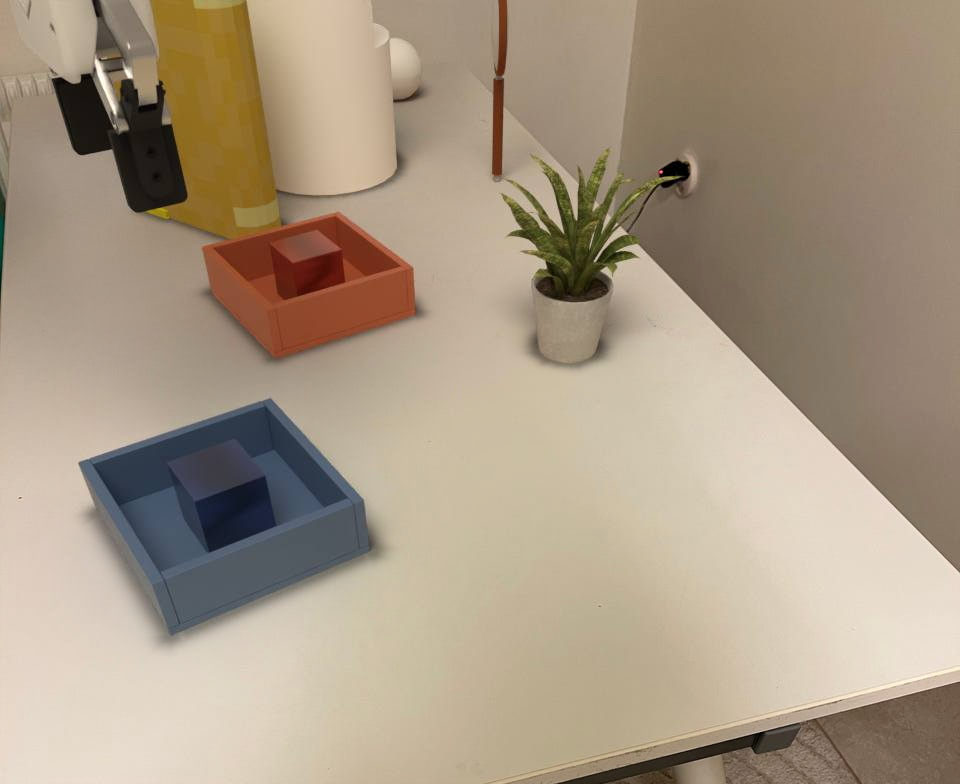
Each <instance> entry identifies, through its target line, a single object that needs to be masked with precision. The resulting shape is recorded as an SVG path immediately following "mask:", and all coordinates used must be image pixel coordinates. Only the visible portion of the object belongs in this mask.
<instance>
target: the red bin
mask: <svg viewBox="0 0 960 784" xmlns="http://www.w3.org/2000/svg"><path fill="white" fill-rule="evenodd" d="M315 230H318V231H319V232H320V233H322V234H323V235H324V236H325V237H327V238H328V239H329V240H330V241H332V242H333V243H334V244H335V245H337V246H338V247H339V248H340V249H342V257H343V266H344V275H345V283H343V284H339V285H336V286H332V287H329V288H325V289H322V290H319V291H315V292H312V293H308V294H305V295H301V296H298V297H295V298H291V299H288V300H284V299H283V298H282V297H281V296H280V295H279V294H278V292H277V286H276V280H275V274H274V269H273V263H272V257H271V251H270V245H269V243H270V242H273V241H277V240H281V239H285V238H289V237H292V236H296V235H300V234H304V233H308V232H311V231H315ZM201 251H202V255H203V258H204V263H205V268H206V273H207V277H208V282H209V286H210V290H211V294H212V295H213V296H214V297H215V298H216V299H217V301H219V303H221V304H222V305H223V306H224V307H225V308H226V309H227V311H229V313H230V314H231V315H232V316H233V317H234V318H235V319H236V320H237V321H238V322H239V323H240V324H241V326H243V327H244V328H245V329H246V330H247V331H248V333H250V335H252V336H253V337H254V338H255V340H257V341H258V343H259V344H260V345H261V346H263V347H264V349H265V350H266V351H267V352H268V353H269V354H270V355H271V356H272V357H273V358H274V359H275V360H276V359H280V358H284V357H287V356H289V355H293V354H296V353H299V352H302V351H305V350H307V349H311V348H314V347H319V346H321V345H323V344H328V343H331V342H333V341H336V340H340V339H344V338H346V337H349V336H353V335H356V334H359V333H362V332H365V331H368V330H372V329H374V328H377V327H380V326H385V325H387V324H391V323H393V322H396V321H399V320H403V319H406V318H409V317H413V316H415V315H417V314H416V296H415V295H416V294H415V276H414V266H412V265H411V264H410V263H408V262H407V261H405V260H404V259H403V258H402V257H400V256H399V255H397V254H396V253H395V252H393V251H392V250H391V249H390V248H388V247H387V246H385V244H383V243H381V242H380V241H379V240H378V239H376V238H375V237H373V236H372V235H370V234H369V233H368V232H367V231H366V230H364V229H363V228H362V227H360V226H359V225H358V224H356V223H355V222H353V221H352V220H351V219H349V218H348V217H346V216H345V214H343V213H342V212H340V211H336V212H333V213H328V214H324V215H320V216H316V217H312V218H308V219H304V220H300V221H297V222H293V223H289V224H285V225H281V226H280V227H277V228H273V229H269V230H265V231H261V232H257V233H253V234H249V235H245V236H242V237H238V238H234V239H226V240H223V241H219V242H215V243H211V244H207V245H203V246H201Z"/></svg>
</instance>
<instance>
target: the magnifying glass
mask: <svg viewBox="0 0 960 784" xmlns="http://www.w3.org/2000/svg"><path fill="white" fill-rule="evenodd" d="M490 19H491V20H490V28H491V29H490V39H491V51H492V59H493V70H494V74H495V77H493V79H492V81H493V83H492V143H491V144H492V145H491V146H492V148H491V151H492V154H491V175H493V181H494V182H495V183H498V182H500V181H501V175H502V174H503V147H504V144H503V142H504V107H505V106H504V104H505V103H504V102H505V101H504V99H505V98H504V97H505V78H504V77H503V76H504V75H505V72H506V65H507V56H508V49H509V48H508V47H509V7H508V0H492V5H491V18H490Z"/></svg>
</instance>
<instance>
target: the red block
mask: <svg viewBox="0 0 960 784" xmlns="http://www.w3.org/2000/svg"><path fill="white" fill-rule="evenodd" d="M269 245H270V251H271V257H272V263H273V269H274V274H275V280H276V286H277V292H278V294H279V295H280V296H281V297H282V298H283V299H284V300H288V299H291V298H295V297H298V296H301V295H305V294H308V293H312V292H315V291H319V290H322V289H325V288H329V287H332V286H336V285H339V284H343V283H345V275H344V266H343V257H342V249H340V248H339V247H338V246H337V245H335V244H334V243H333V242H332V241H330V240H329V239H328V238H327V237H325V236H324V235H323V234H322V233H320V232H319V231H318V230H315V231H311V232H308V233H304V234H300V235H296V236H292V237H289V238H285V239H281V240H277V241H273V242H270V243H269Z"/></svg>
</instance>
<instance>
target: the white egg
mask: <svg viewBox="0 0 960 784" xmlns="http://www.w3.org/2000/svg"><path fill="white" fill-rule="evenodd" d="M389 39H390V56H391V73H392V90H393V101H403V100H406V99H408V98H410V97H411V96H413V95H414V93H415V92H416V91H417V90H418V88H419V86H420V83H421V81H422V78H423V64H422V59H421V57H420V56H419V55H420V54H419V53H418V51H417V49H416V48H415V47H414V46H413V45H412V44H411V43H410V42H409V41H406V40H404V39H402V38H400V37H389Z"/></svg>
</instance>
